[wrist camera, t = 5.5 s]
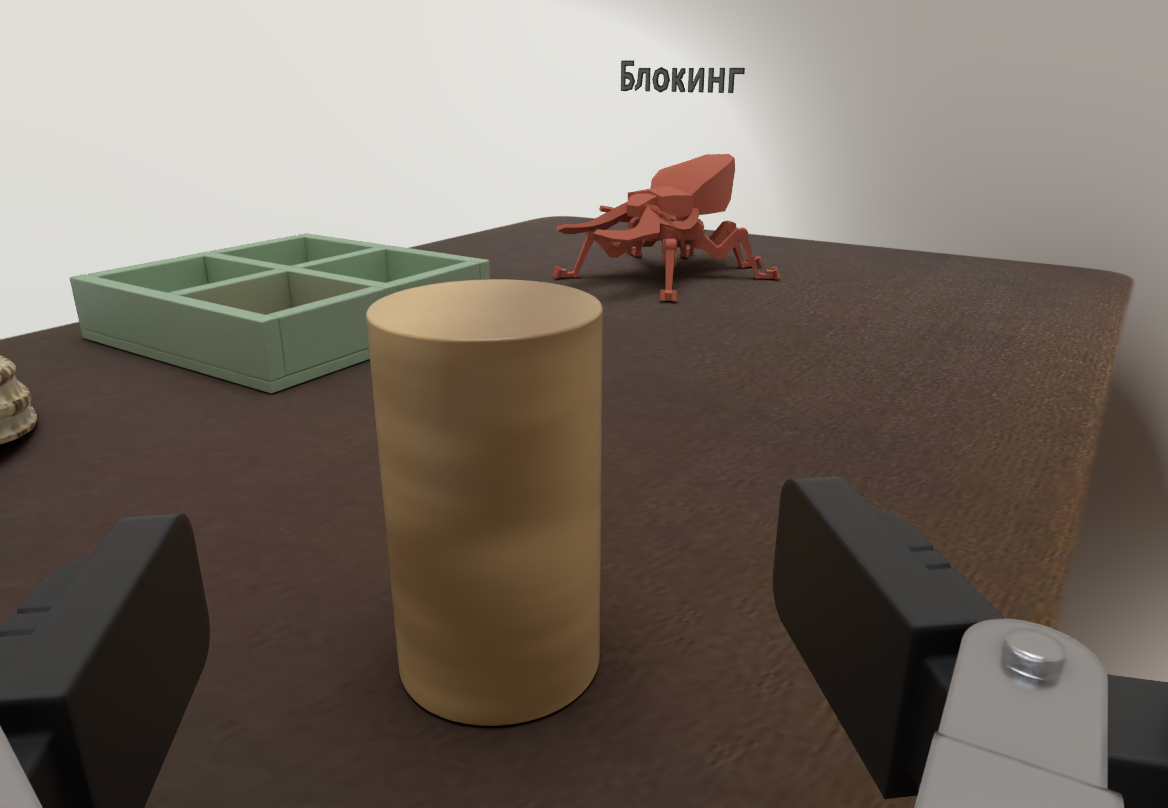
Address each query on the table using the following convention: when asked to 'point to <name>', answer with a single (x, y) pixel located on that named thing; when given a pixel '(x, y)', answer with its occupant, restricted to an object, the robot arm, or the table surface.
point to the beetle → (673, 201)
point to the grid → (258, 305)
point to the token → (491, 492)
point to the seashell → (14, 404)
